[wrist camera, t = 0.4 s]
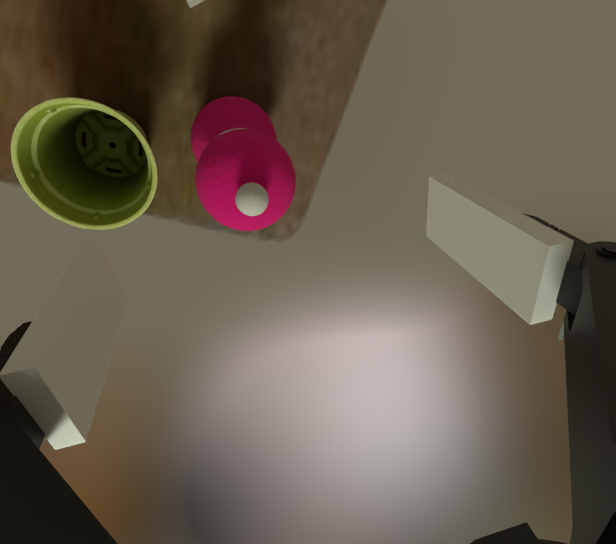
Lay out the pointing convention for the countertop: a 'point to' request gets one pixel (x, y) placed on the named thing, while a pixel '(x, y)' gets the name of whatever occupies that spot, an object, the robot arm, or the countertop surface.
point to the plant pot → (84, 163)
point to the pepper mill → (241, 165)
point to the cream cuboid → (193, 2)
